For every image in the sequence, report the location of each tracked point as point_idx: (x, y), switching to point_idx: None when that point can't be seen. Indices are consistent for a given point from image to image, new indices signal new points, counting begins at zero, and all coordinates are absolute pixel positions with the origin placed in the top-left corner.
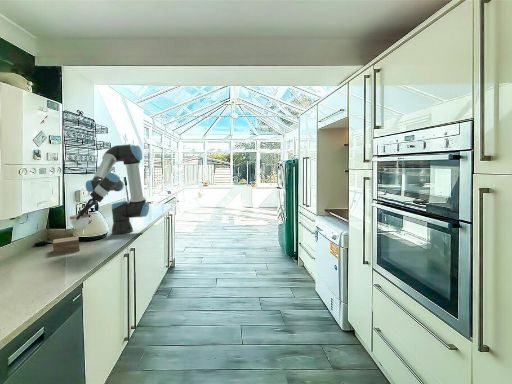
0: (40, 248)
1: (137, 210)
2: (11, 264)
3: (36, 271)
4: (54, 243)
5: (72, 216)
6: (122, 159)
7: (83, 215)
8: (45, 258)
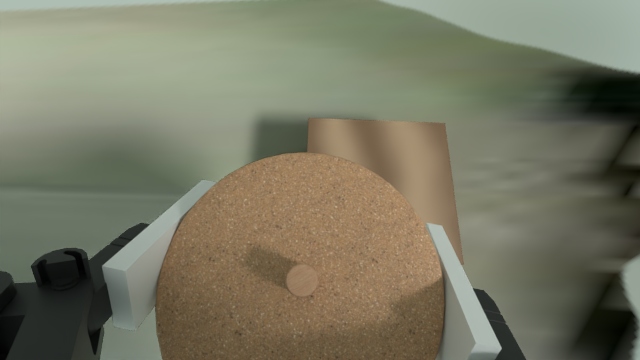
0: (511, 95)
1: None
2: (239, 16)
3: (13, 89)
4: (308, 126)
5: (265, 184)
6: None
7: (190, 351)
8: (245, 115)
